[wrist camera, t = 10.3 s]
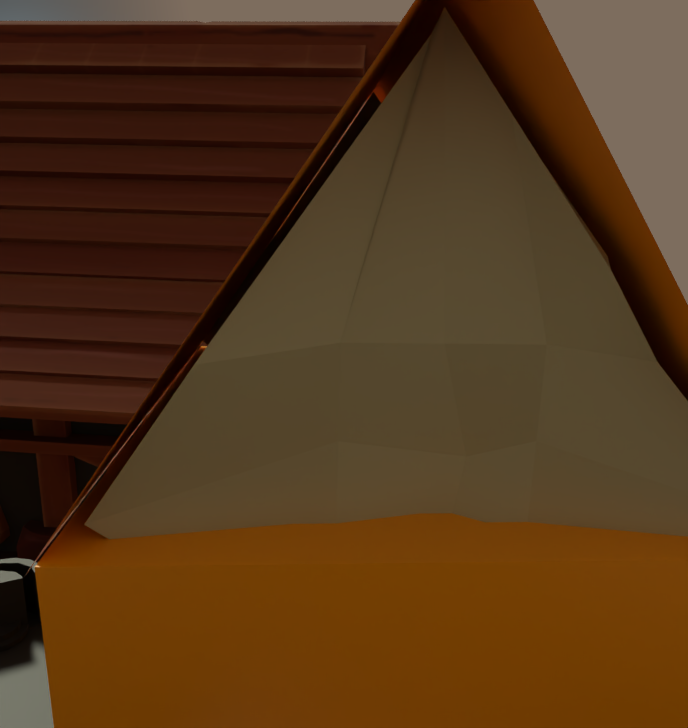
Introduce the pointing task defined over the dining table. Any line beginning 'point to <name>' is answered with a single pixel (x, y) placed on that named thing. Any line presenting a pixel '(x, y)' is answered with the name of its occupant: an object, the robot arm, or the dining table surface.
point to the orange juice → (406, 435)
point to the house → (134, 216)
